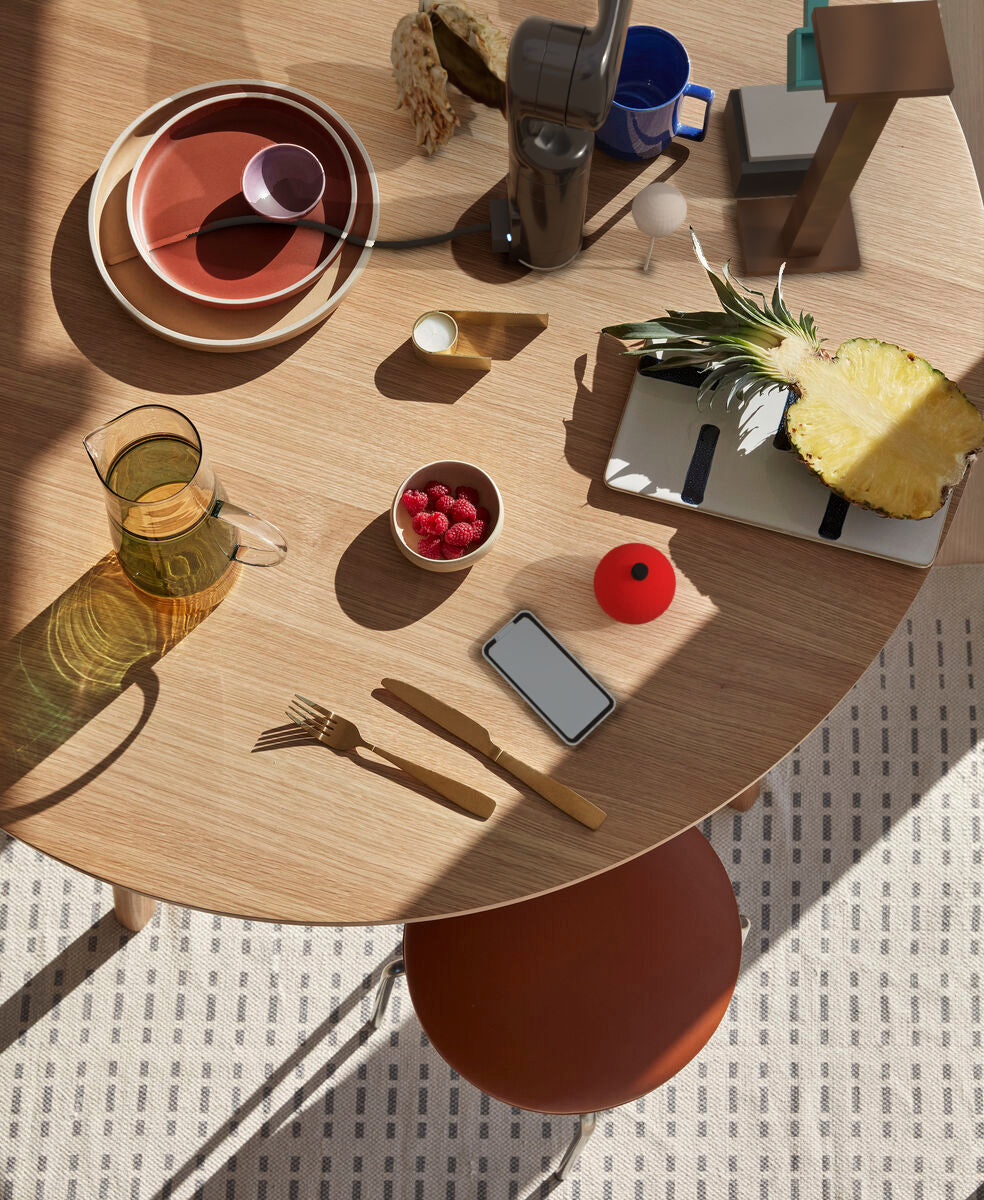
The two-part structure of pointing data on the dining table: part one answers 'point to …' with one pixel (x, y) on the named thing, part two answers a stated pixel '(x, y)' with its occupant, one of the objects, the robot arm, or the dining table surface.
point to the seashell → (446, 65)
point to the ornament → (634, 583)
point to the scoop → (804, 53)
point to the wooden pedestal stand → (846, 131)
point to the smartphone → (548, 677)
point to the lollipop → (658, 212)
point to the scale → (772, 137)
